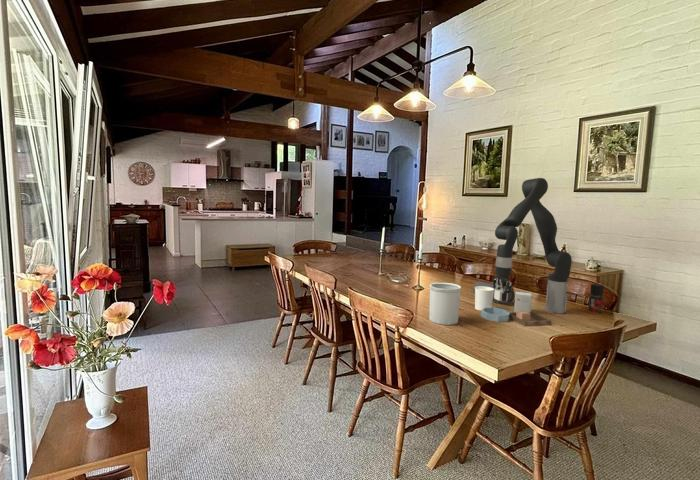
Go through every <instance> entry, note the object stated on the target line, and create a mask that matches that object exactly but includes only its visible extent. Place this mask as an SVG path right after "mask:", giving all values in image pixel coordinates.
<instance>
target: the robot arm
mask: <svg viewBox="0 0 700 480" xmlns="http://www.w3.org/2000/svg"><path fill="white" fill-rule="evenodd" d="M548 188H549V184H548V181H547V180H546V178H543V177H537V178H531V179H526V180H523V182H522V184H521V191H522V194H523V196H524V198H523V200H521V201H520V202H519V203H517V205H515V206H514V208H512V210H511V211H510V213H509V214H508V216H507V218H505V219H504V220H503V221H501V222H500V223H499V224H498V225H497V226H496V228H495V230H494V236H495V238H496V239H498V240H501V241H502V240H503V241H505V243H504V244H499V245H498V246H497V248H496V258H495V268H494V270H495V271H494V275H496V276H492V284H493V288H495V290H501V289H502V301H506V299H507V293H510V292H511V289H512V287H513V285H514V283H513V281H510V277H511V276H512V269H513V268H512V267H513V266H512V265H513V249H514V247H515V244H516V241H517V239H518V235H519V230H518V229H517V228H518V227H520V226H521V225H522V223H523V222H524V220H525V218H526V217H527V215H528V214H529V212H531V214H532V217H533V219H534V223H535V226H536V229H537V231H538V235H539V237H540V241H541V244H542V247H543V251H544V256H545V259H546V262H547V263H548V265H549V266H551V268H552V267H553V268H554V271H553V273H549V274H548V276H547V284H546V294H545V295H546V298H545V307H544V309H545V310H546V311H548V312H550V313H553V314H564V313H567V312H566V311H567V306H568V305H567V304H568V294H567V287H568V279H569V277H570V275H571V269H572V256H571V254H570V253H569V252H567V251H562V250H559V248H558V245H557V242H556V237H557V233H558V227H557V223H556V219H555V217H554V215H553V214H552V213H551V211H550V210H548V209H547V208H546V207H545V206H544V205H543V204H542V202H541V201H540V200H541V199H542V198H543V197H544V195H545V194H546V193H547V192H548ZM495 285H496V286H495ZM504 289H505V291H504ZM508 289H509V290H508Z"/></svg>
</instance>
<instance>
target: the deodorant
mask: <svg viewBox="0 0 700 480" xmlns="http://www.w3.org/2000/svg"><path fill="white" fill-rule="evenodd" d="M604 290H605V285H603V284H599V283H590V291H589V299H588V300H589V302H588V309H587V311H588V312H590V313H593V314H601V313H602V307H603V298H604Z"/></svg>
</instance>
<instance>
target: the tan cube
mask: <svg viewBox="0 0 700 480" xmlns="http://www.w3.org/2000/svg"><path fill="white" fill-rule="evenodd" d="M530 314H531V313H529V312H527V311H525V310H523V311H517V312H516V317H517V318H519V319H521V320H523V321H525V322H527V321H530Z"/></svg>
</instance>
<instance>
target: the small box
mask: <svg viewBox="0 0 700 480" xmlns="http://www.w3.org/2000/svg"><path fill="white" fill-rule="evenodd" d="M514 294H515V298H514V309H513V312H517V311H523V310H525V311H527V312H532V299H533V294H532V292H531V293H530V292H524V291H523V292H522V291H515V293H514Z"/></svg>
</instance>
